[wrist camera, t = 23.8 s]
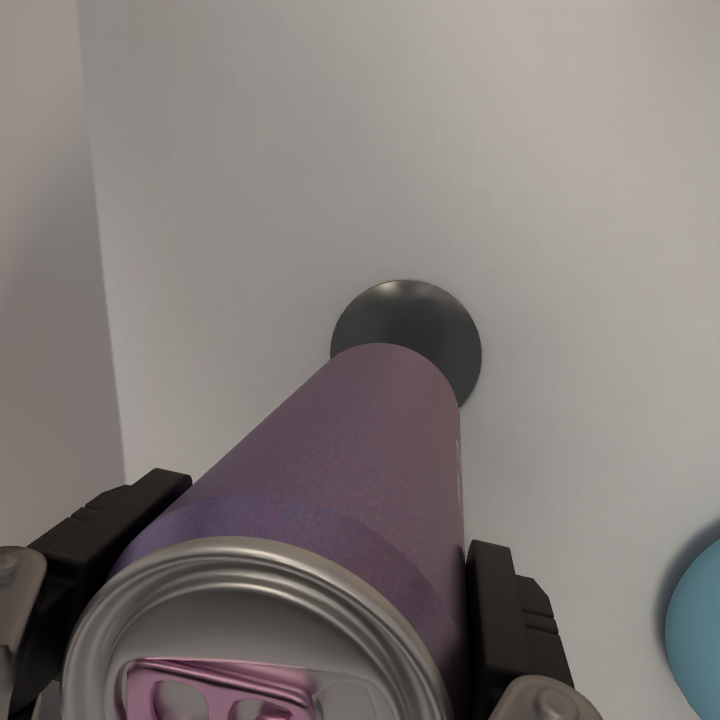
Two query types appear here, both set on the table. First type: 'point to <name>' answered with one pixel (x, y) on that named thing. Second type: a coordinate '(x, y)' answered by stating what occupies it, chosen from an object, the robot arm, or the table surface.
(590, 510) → the table surface
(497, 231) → the table surface
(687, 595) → the sugar bowl
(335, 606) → the beverage can
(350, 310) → the slate coaster
